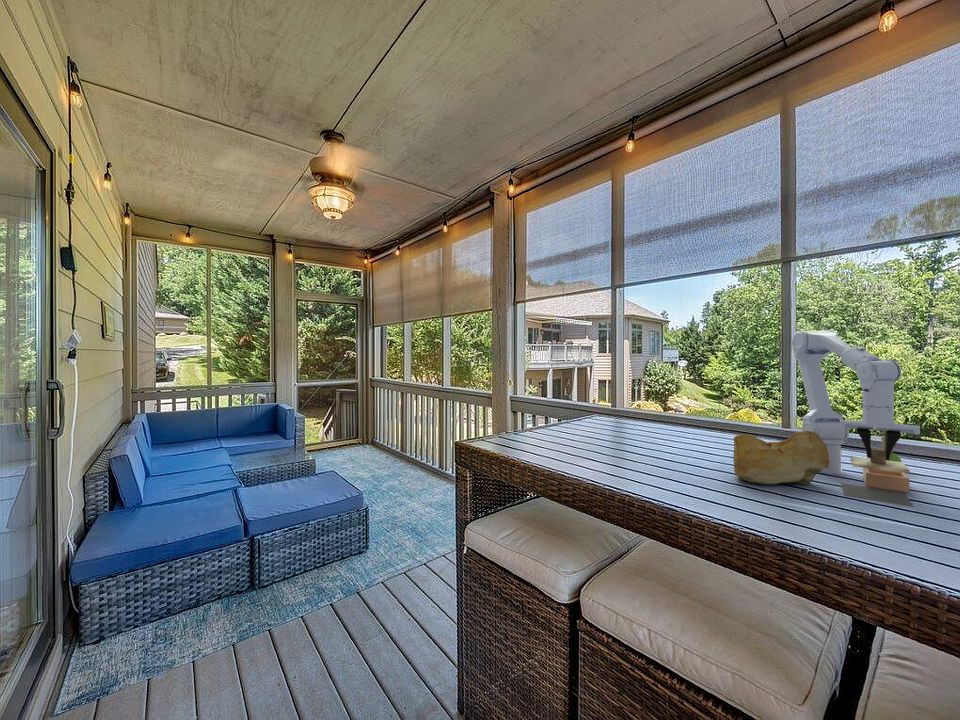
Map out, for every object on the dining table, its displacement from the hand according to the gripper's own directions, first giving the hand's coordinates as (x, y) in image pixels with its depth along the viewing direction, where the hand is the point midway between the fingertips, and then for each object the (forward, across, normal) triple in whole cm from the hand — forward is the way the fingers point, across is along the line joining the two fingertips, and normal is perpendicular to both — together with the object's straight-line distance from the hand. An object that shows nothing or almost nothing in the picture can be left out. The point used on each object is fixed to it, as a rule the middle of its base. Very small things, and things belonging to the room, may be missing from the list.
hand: (877, 458), depth 103 cm
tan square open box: (+9, +2, +7) cm, 11 cm away
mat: (+9, -1, -4) cm, 10 cm away
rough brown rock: (+9, -22, -3) cm, 24 cm away
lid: (+2, 0, 0) cm, 2 cm away
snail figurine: (+9, +5, +29) cm, 31 cm away
